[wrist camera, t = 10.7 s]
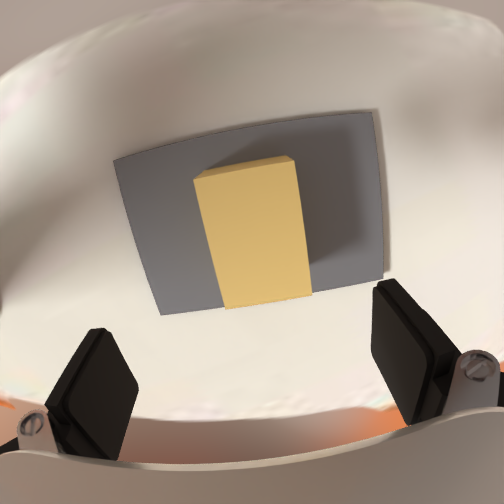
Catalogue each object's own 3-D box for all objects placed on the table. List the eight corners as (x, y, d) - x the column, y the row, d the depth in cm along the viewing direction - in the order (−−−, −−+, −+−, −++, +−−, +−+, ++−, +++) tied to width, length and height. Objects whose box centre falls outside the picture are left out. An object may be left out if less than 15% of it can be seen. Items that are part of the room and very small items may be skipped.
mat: (162, 311, 27) (160, 315, 26) (116, 159, 22) (113, 160, 21) (380, 275, 26) (383, 278, 25) (368, 112, 21) (371, 112, 20)
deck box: (204, 170, 22) (193, 179, 18) (285, 155, 21) (294, 160, 17) (229, 279, 25) (225, 309, 21) (302, 267, 25) (312, 295, 21)
